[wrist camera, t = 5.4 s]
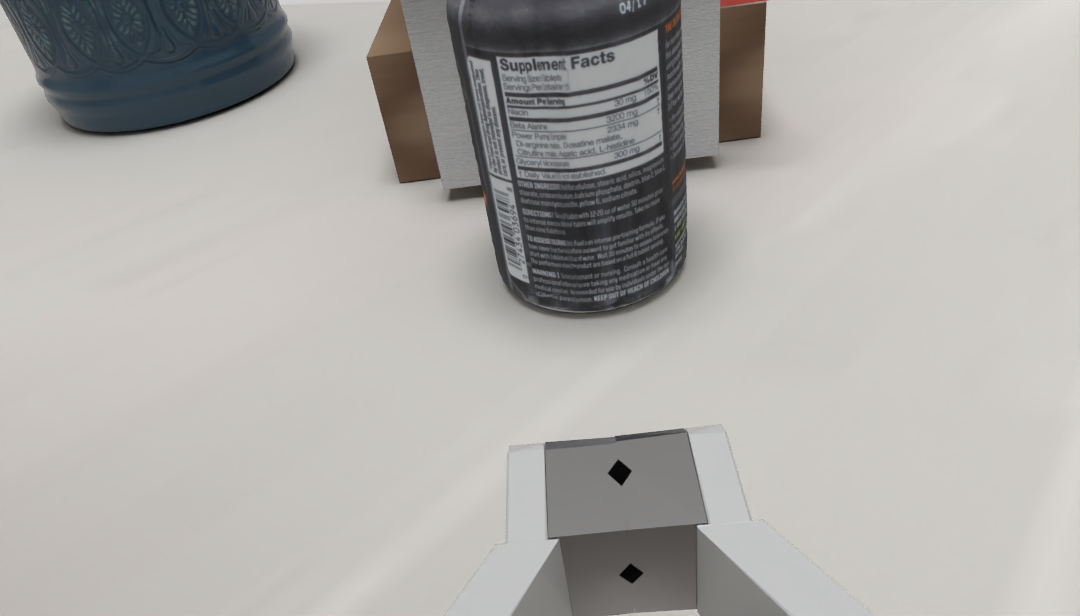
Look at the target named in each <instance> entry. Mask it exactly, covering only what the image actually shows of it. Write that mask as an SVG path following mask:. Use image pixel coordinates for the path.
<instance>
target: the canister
mask: <svg viewBox="0 0 1080 616" xmlns="http://www.w3.org/2000/svg"><path fill="white" fill-rule="evenodd" d="M0 4H1V5H2V7H3V9H4V11H5V13H6V15H7V17H8V19H9V21H10V22H11V24H12V26H13V28H14V30H15V32H16V34H17V36H18V38H19V39H20V41H21V43H22V45H23V47H24V49H25V51H26V53H27V55H28V56H29V58H30V60H31V62H32V64H33V66H34V68H35V71H36V79H37V82H38V84H39V85H40V86H41V87H42V88H43V89H44V93H45V97H46V98H47V100H48V101H49V102H50V103H51V104H52V105H53V106H54V107H55V108H56V109H57V110H58V111H59V112H60V114H61V115H62V117H63V119H64V120H65V122H67V123H68V124H69V125H71V126H73V127H75V128H79V129H82V130H87V131H94V132H124V131H135V130H143V129H149V128H155V127H160V126H165V125H170V124H174V123H179V122H183V121H187V120H190V119H194V118H197V117H201V116H204V115H207V114H210V113H213V112H216V111H219V110H222V109H224V108H227V107H229V106H232V105H234V104H237V103H239V102H241V101H244V100H246V99H248V98H250V97H252V96H254V95H256V94H258V93H260V92H261V91H263V90H265V89H267V88H268V87H270V86H271V85H273V84H274V83H276V82H277V81H278V80H280V79H281V78H282V77H283V76H284V75H285V74H286V73H287V72H288V71H289V69H290V68H291V66H292V65H293V62H294V53H293V49H292V32H291V29H290V27H289V26H288V24H287V21H288V20H287V15H286V14H285V12H284V11H283V9H282V8H281V6H280V4H279V1H278V0H0Z"/></svg>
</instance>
